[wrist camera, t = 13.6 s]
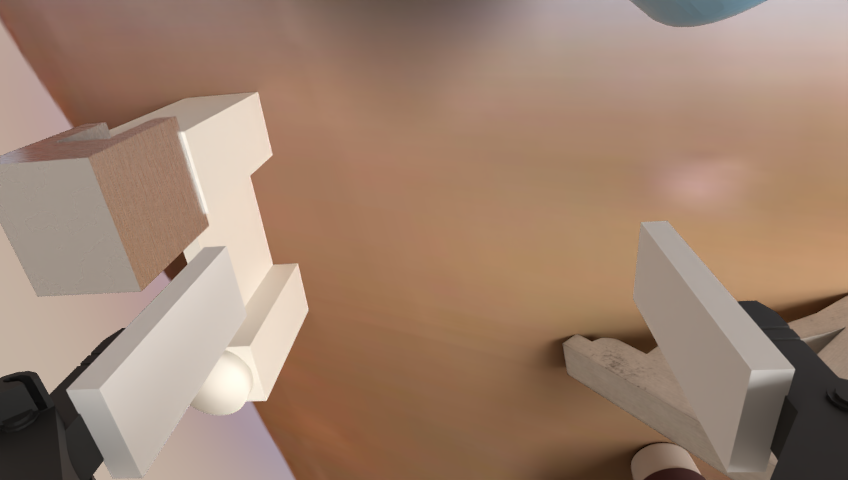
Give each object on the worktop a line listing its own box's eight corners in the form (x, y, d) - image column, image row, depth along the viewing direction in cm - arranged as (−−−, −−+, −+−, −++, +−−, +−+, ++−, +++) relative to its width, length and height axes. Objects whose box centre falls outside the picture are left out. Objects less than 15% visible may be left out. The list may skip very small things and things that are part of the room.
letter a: (727, 259, 69) (567, 373, 58) (727, 231, 67) (562, 343, 56) (948, 323, 51) (778, 508, 40) (956, 287, 49) (781, 470, 38)
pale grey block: (85, 123, 35) (-29, 166, 27) (175, 116, 34) (87, 157, 26) (126, 230, 38) (37, 296, 30) (209, 225, 38) (141, 291, 30)
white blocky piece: (185, 98, 48) (45, 157, 32) (257, 91, 47) (152, 148, 31) (248, 312, 58) (167, 438, 42) (308, 309, 58) (249, 436, 41)
